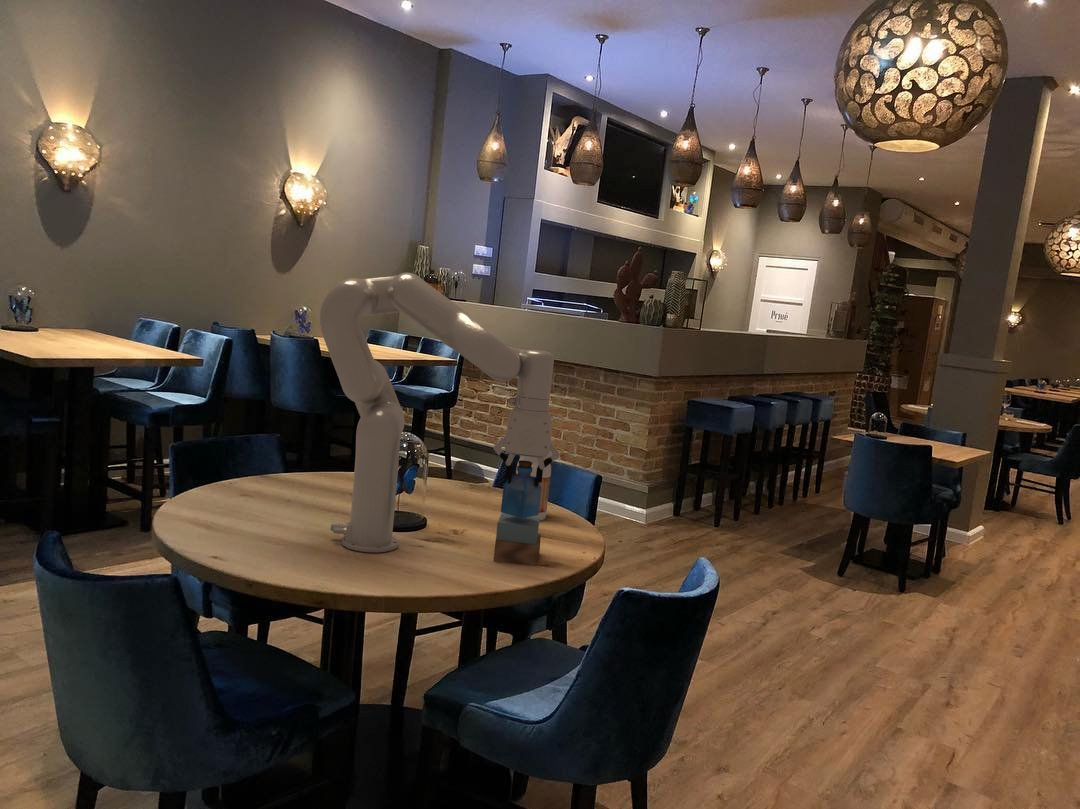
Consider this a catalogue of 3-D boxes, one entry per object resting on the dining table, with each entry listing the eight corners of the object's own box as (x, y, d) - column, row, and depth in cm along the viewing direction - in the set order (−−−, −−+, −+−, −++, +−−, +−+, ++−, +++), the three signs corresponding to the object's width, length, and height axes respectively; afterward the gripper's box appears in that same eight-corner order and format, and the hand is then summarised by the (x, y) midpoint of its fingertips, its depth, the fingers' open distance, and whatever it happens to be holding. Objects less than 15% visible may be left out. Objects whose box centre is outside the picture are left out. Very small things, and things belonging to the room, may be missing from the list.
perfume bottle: (517, 508, 199) (522, 458, 197) (538, 514, 195) (544, 463, 194) (500, 512, 194) (506, 460, 192) (522, 518, 190) (528, 465, 189)
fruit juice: (525, 523, 227) (537, 419, 223) (504, 514, 234) (515, 413, 231) (552, 520, 233) (564, 419, 229) (531, 511, 240) (542, 413, 237)
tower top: (495, 539, 191) (497, 522, 190) (499, 529, 200) (501, 512, 199) (535, 544, 190) (537, 527, 190) (537, 534, 199) (539, 517, 199)
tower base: (493, 562, 190) (495, 541, 190) (496, 550, 200) (498, 529, 200) (537, 567, 190) (540, 545, 190) (538, 554, 200) (540, 534, 200)
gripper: (492, 402, 188) (484, 482, 190) (570, 411, 188) (560, 491, 190) (495, 398, 195) (486, 476, 197) (569, 407, 195) (560, 484, 197)
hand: (523, 483), depth 193 cm, fingers closed on perfume bottle, 5 cm apart
